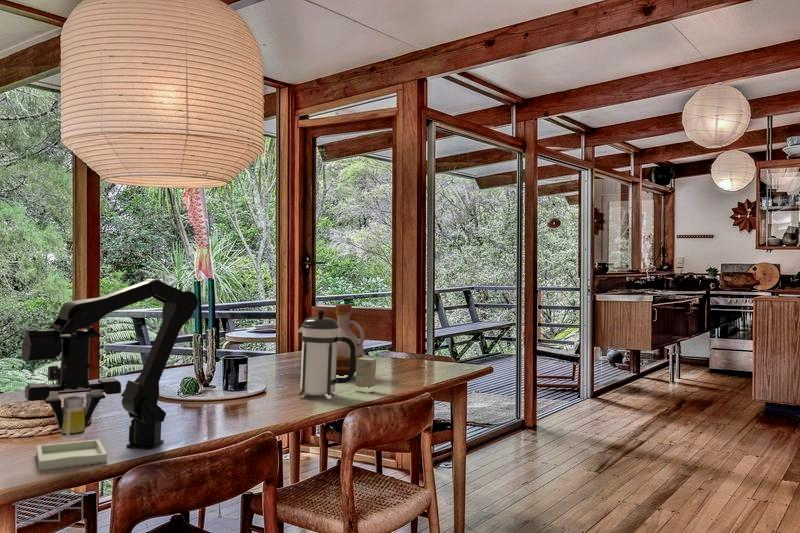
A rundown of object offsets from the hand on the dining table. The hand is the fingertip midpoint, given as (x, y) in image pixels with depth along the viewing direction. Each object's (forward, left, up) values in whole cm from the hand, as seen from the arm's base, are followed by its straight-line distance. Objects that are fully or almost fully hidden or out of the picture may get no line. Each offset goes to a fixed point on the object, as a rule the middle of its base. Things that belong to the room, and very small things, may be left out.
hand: (72, 427), depth 144 cm
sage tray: (0, 0, -7) cm, 7 cm away
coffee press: (-36, -84, -7) cm, 92 cm away
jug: (-35, -122, -7) cm, 127 cm away
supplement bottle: (0, 0, -2) cm, 2 cm away
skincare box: (-49, -97, -7) cm, 109 cm away
